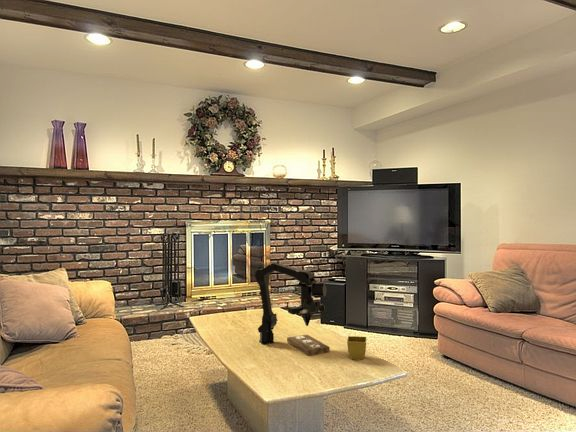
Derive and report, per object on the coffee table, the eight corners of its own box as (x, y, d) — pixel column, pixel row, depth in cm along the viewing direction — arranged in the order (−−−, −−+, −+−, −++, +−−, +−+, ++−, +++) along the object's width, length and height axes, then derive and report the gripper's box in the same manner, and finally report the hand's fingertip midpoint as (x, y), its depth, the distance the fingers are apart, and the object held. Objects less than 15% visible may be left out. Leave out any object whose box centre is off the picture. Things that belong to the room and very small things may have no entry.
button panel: (307, 355, 200) (307, 350, 201) (287, 342, 223) (287, 337, 223) (329, 351, 205) (329, 346, 205) (307, 339, 228) (307, 334, 228)
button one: (298, 343, 220) (298, 338, 220) (295, 341, 223) (295, 336, 223) (305, 342, 221) (305, 337, 221) (302, 340, 225) (302, 335, 225)
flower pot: (366, 361, 190) (366, 342, 190) (347, 361, 192) (346, 341, 192) (366, 355, 199) (366, 336, 199) (348, 354, 200) (348, 336, 201)
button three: (313, 352, 204) (313, 347, 204) (309, 350, 208) (309, 344, 208) (320, 351, 206) (320, 345, 206) (316, 348, 209) (316, 343, 209)
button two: (305, 347, 212) (305, 342, 212) (302, 345, 215) (302, 340, 215) (312, 346, 213) (312, 341, 213) (309, 344, 217) (309, 339, 217)
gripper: (296, 299, 204) (297, 331, 203) (329, 296, 211) (330, 326, 211) (287, 296, 214) (288, 326, 214) (319, 292, 221) (320, 322, 221)
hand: (307, 325), depth 215 cm, fingers closed
